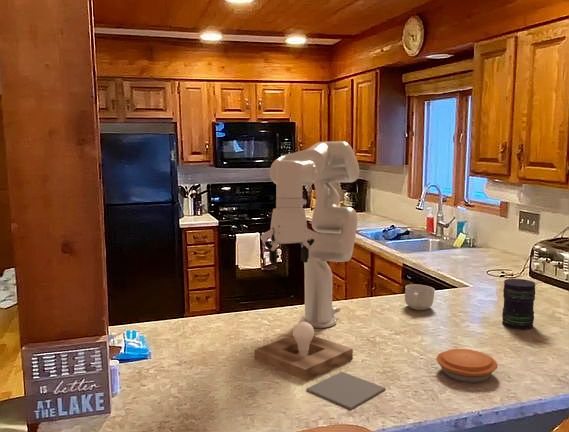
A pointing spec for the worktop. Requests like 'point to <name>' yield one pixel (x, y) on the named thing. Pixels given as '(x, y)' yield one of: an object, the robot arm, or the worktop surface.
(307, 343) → the lightbulb
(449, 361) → the pie
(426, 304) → the teacup
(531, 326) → the storage jar
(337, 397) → the mat
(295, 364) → the holder
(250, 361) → the worktop surface
